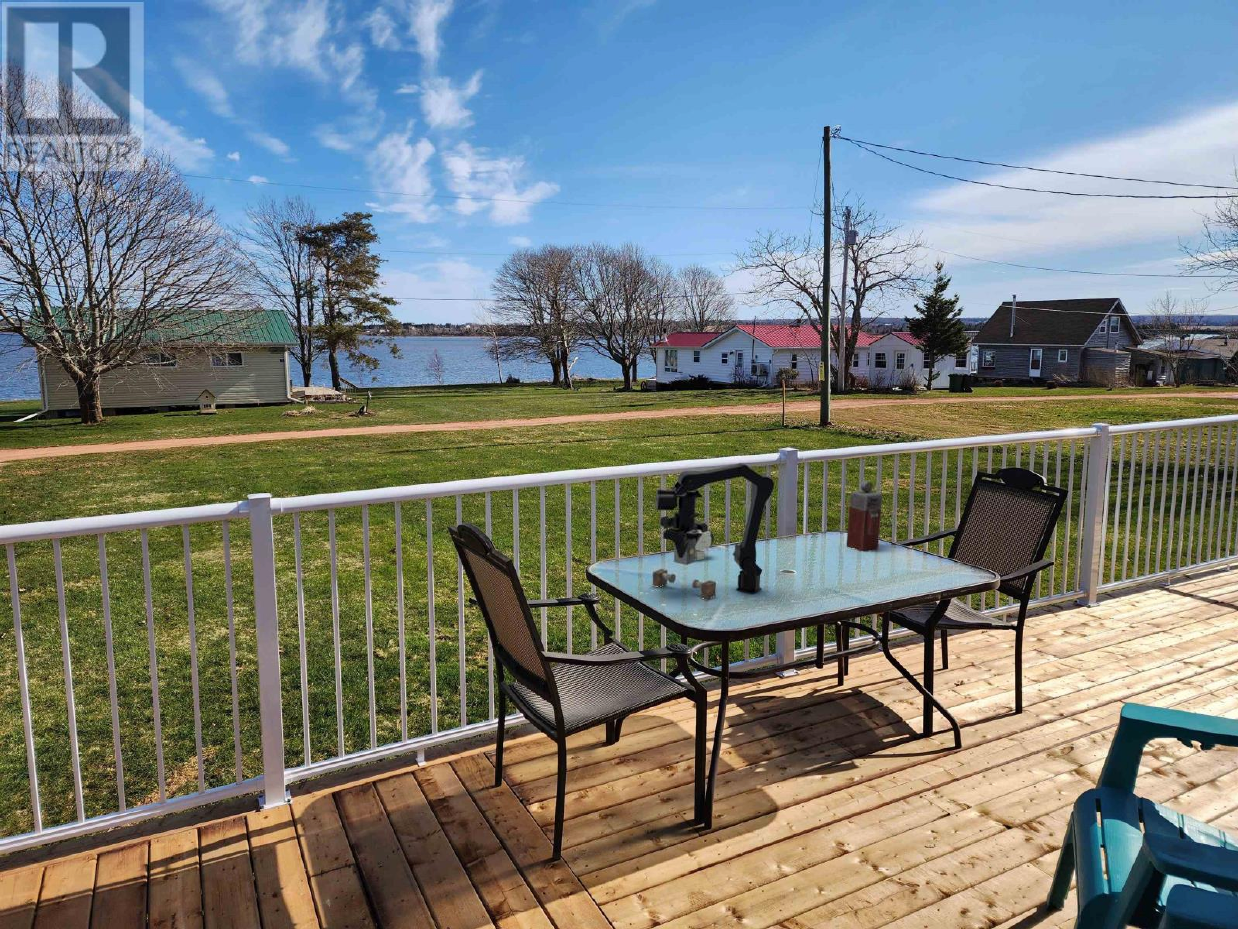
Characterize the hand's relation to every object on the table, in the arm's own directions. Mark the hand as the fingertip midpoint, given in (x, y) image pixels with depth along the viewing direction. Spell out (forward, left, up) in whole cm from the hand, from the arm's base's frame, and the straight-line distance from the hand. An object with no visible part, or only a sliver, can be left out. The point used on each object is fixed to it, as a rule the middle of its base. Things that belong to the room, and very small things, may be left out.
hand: (684, 556), depth 255 cm
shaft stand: (0, 0, -12) cm, 12 cm away
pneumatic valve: (+16, -36, -12) cm, 41 cm away
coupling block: (0, 0, -2) cm, 2 cm away
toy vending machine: (-27, -96, -12) cm, 100 cm away
